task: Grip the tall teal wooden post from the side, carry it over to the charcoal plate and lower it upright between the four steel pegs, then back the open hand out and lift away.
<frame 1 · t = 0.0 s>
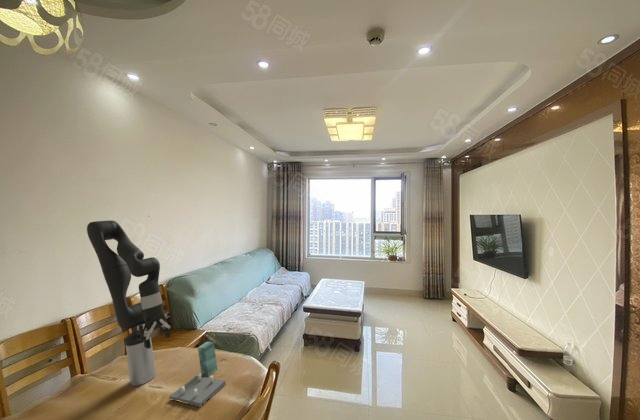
hand: (158, 342, 108), 17 cm above the table, fingers open, 8 cm apart
teal post: (209, 372, 110), on the table
peg plate: (198, 392, 98), on the table
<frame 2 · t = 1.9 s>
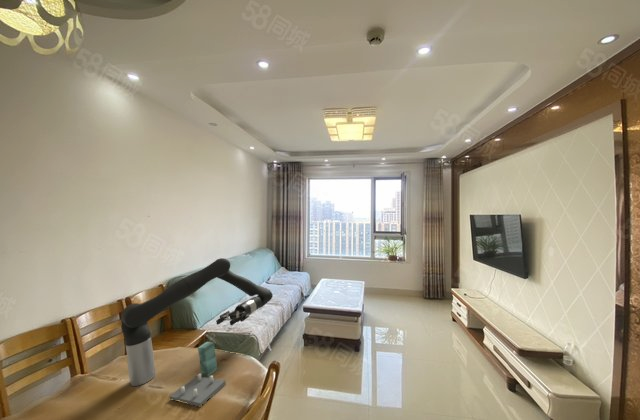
hand: (223, 323, 121), 16 cm above the table, fingers open, 8 cm apart
nothing on the table moved.
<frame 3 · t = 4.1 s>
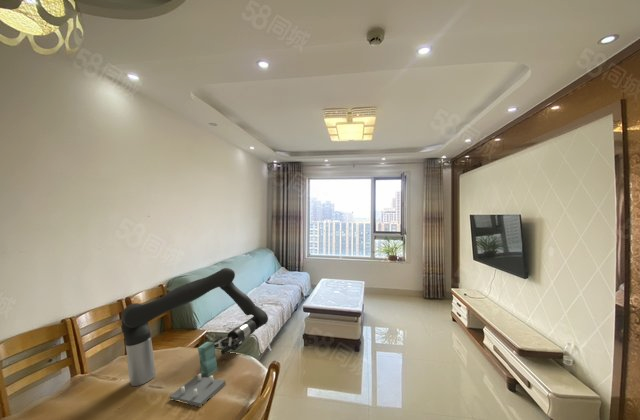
hand: (214, 351, 114), 7 cm above the table, fingers open, 8 cm apart
nothing on the table moved.
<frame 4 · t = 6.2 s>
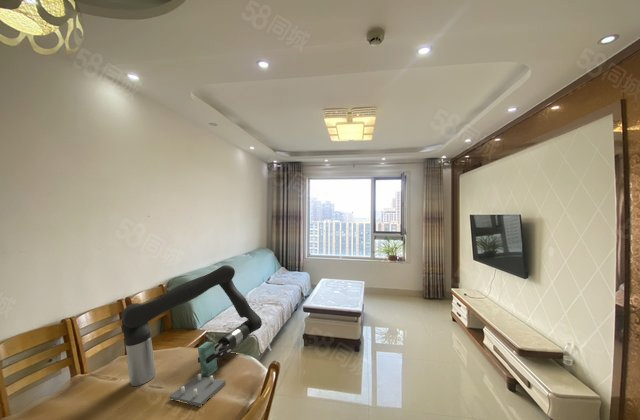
hand: (202, 360, 108), 7 cm above the table, fingers closed on teal post, 4 cm apart
teal post: (209, 372, 110), on the table, touching gripper
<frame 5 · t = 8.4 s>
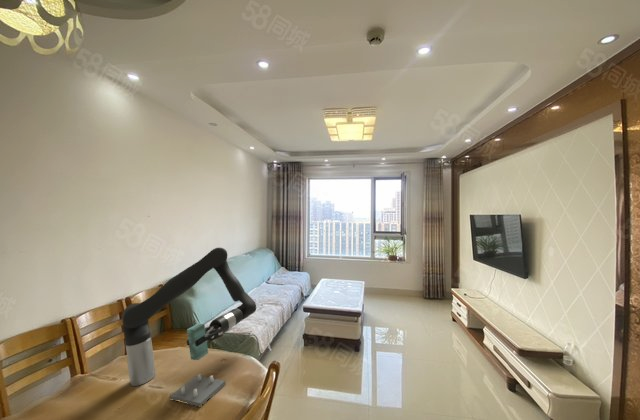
hand: (191, 343, 100), 18 cm above the table, fingers closed on teal post, 4 cm apart
teal post: (199, 356, 103), point 11 cm above the table, touching gripper
when the fingers open (9 cm above the table, at t = 10.7 s): teal post drops 1 cm, resting on peg plate.
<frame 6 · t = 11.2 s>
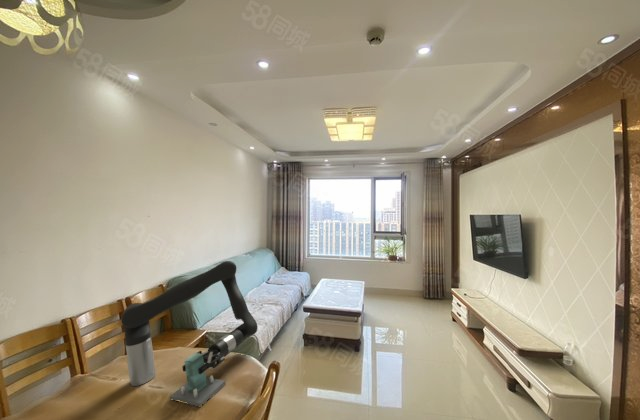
hand: (191, 370, 96), 10 cm above the table, fingers open, 8 cm apart
teal post: (197, 388, 98), point 2 cm above the table, touching peg plate
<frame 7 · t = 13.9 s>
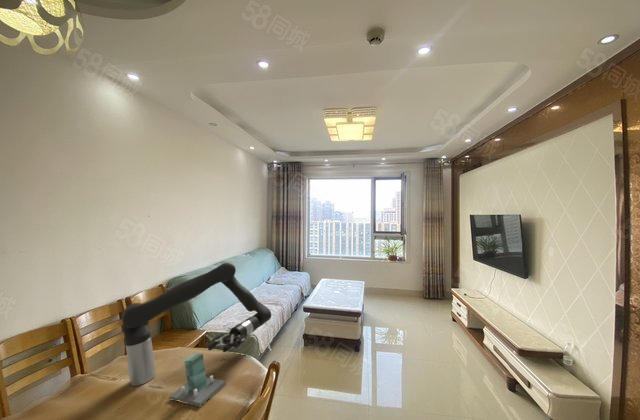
hand: (216, 349, 108), 10 cm above the table, fingers open, 8 cm apart
nothing on the table moved.
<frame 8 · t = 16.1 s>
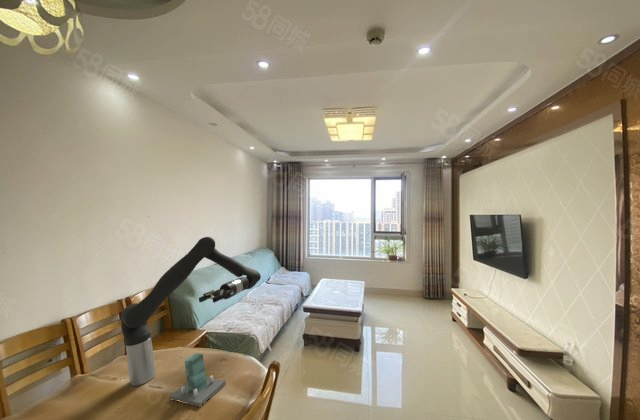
hand: (206, 300, 115), 30 cm above the table, fingers open, 8 cm apart
nothing on the table moved.
at the end: teal post 0.1 cm off-centre on the peg plate, point 1.5 cm above the peg plate's base; teal post tilted 0°; the gripper is holding nothing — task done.
